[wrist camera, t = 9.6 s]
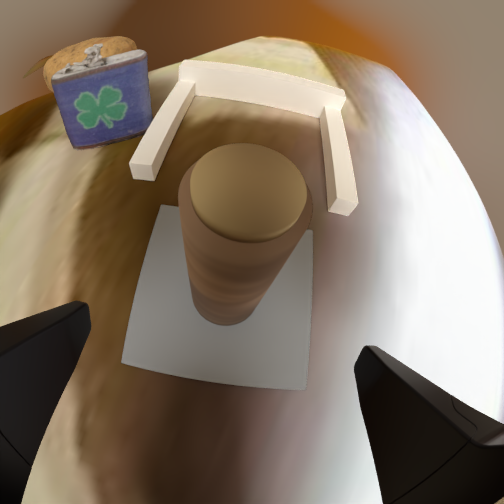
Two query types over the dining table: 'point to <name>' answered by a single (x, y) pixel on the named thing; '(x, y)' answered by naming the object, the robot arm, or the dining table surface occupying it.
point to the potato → (77, 54)
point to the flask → (104, 98)
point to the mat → (216, 336)
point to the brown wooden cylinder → (239, 226)
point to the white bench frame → (264, 93)
